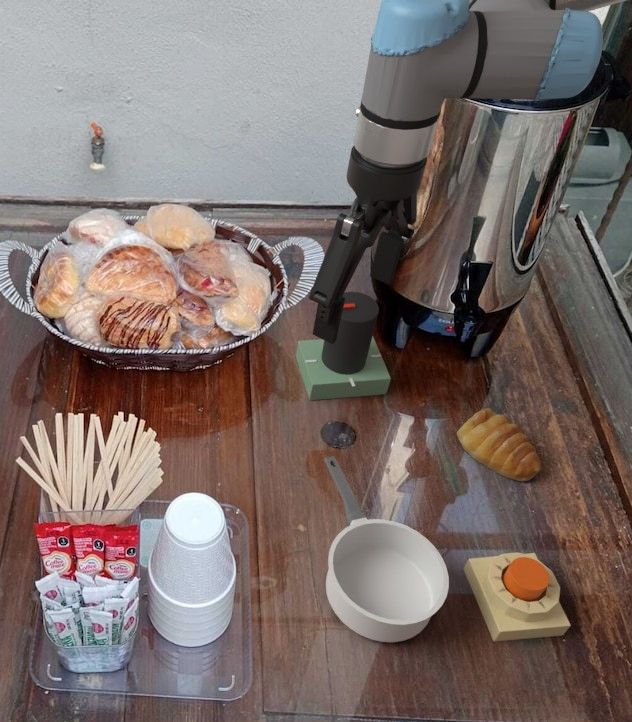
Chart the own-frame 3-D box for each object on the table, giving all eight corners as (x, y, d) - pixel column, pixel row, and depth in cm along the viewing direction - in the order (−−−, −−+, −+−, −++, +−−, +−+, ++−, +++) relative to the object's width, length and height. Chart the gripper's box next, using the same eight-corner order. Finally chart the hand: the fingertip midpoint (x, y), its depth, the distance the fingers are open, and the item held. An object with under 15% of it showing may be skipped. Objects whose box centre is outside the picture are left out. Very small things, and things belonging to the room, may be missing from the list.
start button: (532, 565, 77) (539, 555, 76) (548, 599, 75) (556, 588, 73) (497, 569, 77) (503, 558, 76) (512, 602, 75) (519, 592, 73)
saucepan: (368, 475, 90) (377, 446, 86) (456, 635, 76) (472, 608, 72) (275, 496, 89) (280, 467, 85) (348, 662, 75) (358, 637, 71)
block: (528, 563, 82) (540, 543, 79) (563, 635, 76) (578, 617, 73) (463, 568, 81) (473, 549, 79) (493, 641, 76) (505, 623, 73)
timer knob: (358, 342, 101) (371, 287, 95) (371, 372, 98) (385, 318, 91) (316, 345, 101) (326, 291, 95) (327, 376, 97) (338, 322, 91)
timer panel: (366, 346, 105) (370, 329, 103) (388, 399, 98) (393, 382, 96) (294, 351, 105) (296, 335, 103) (311, 405, 98) (314, 389, 96)
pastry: (550, 467, 90) (562, 447, 87) (511, 495, 88) (522, 475, 85) (485, 416, 96) (494, 396, 93) (447, 441, 93) (455, 421, 91)
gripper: (412, 93, 86) (376, 246, 101) (290, 191, 73) (269, 349, 88) (477, 113, 83) (429, 268, 98) (361, 220, 70) (326, 380, 85)
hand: (353, 307), depth 93 cm, fingers open, 13 cm apart
